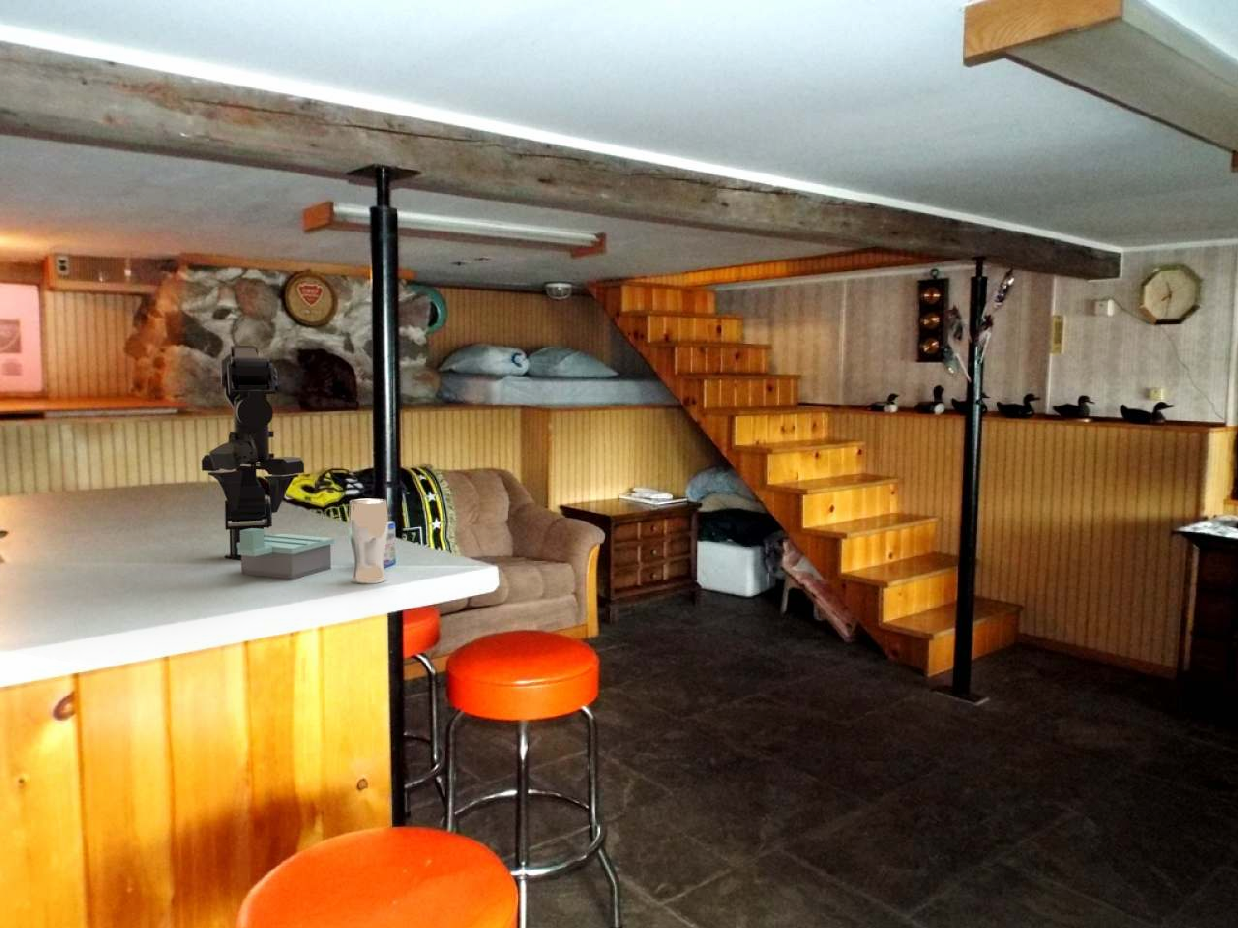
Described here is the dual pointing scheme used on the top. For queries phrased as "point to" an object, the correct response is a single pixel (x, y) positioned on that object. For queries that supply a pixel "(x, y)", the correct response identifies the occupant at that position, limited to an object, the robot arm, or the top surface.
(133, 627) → the top surface
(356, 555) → the beer glass
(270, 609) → the top surface
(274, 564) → the tub
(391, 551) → the medicine box
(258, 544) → the lid
